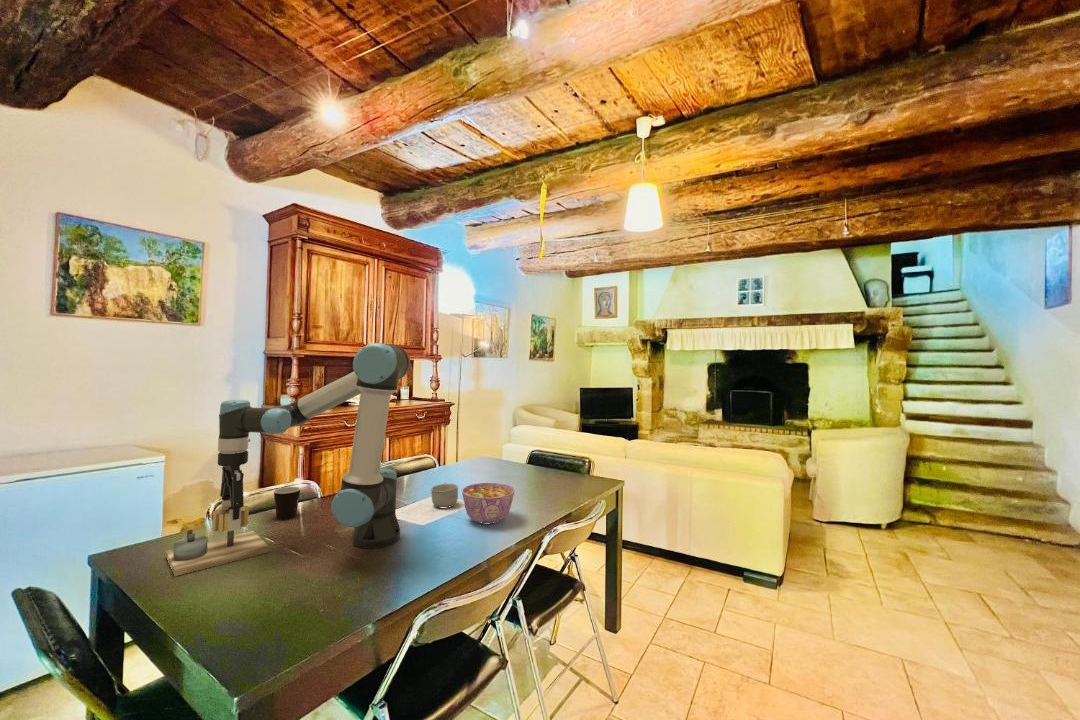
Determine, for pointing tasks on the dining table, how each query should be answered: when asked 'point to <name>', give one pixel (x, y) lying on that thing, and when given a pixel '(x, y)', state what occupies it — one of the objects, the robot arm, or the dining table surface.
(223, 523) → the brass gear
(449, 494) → the teacup
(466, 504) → the bowl of food
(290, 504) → the coffee mug
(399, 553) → the dining table surface
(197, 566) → the birch board
